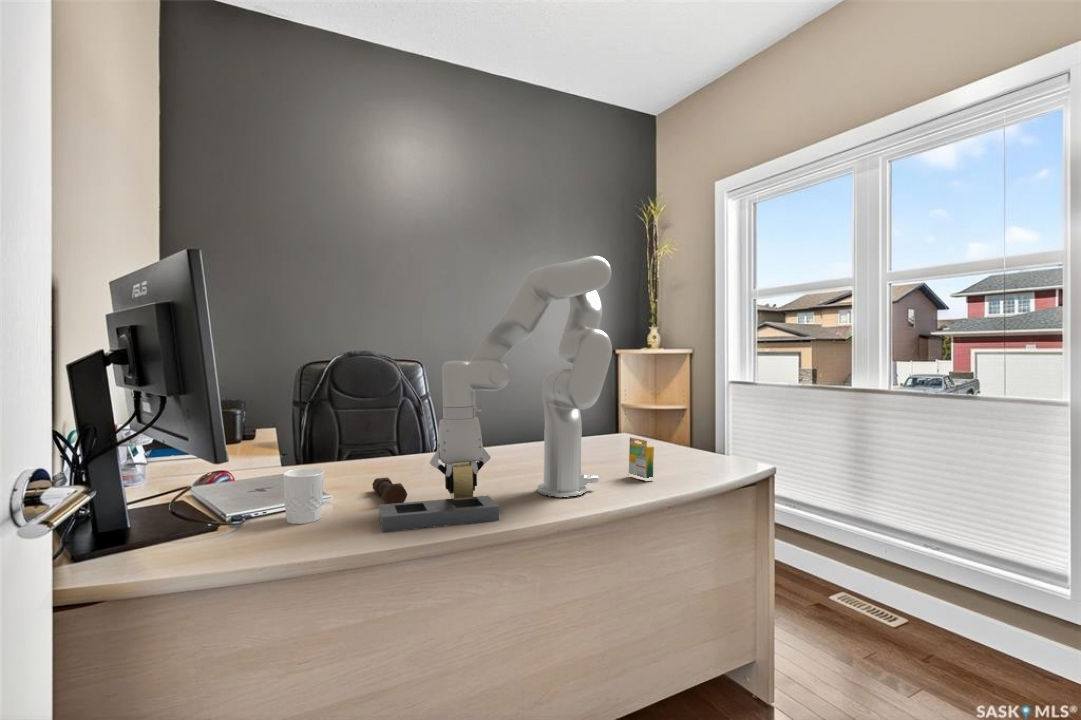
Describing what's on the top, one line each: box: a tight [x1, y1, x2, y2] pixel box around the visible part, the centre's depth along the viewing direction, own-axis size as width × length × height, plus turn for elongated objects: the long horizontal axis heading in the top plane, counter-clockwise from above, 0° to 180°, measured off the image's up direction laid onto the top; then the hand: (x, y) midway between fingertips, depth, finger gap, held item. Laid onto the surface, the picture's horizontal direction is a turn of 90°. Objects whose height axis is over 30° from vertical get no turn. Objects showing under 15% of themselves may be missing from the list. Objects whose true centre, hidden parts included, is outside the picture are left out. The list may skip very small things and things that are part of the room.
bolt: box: [372, 477, 408, 504], centre depth 133 cm, size 6×5×15 cm
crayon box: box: [628, 437, 655, 478], centre depth 157 cm, size 7×3×12 cm, turn 32°
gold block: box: [449, 462, 474, 499], centre depth 129 cm, size 4×4×8 cm
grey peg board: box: [378, 495, 500, 533], centre depth 117 cm, size 24×9×3 cm, turn 111°
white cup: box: [282, 467, 325, 525], centre depth 116 cm, size 8×8×10 cm
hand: (461, 490), depth 129 cm, fingers closed on gold block, 4 cm apart
